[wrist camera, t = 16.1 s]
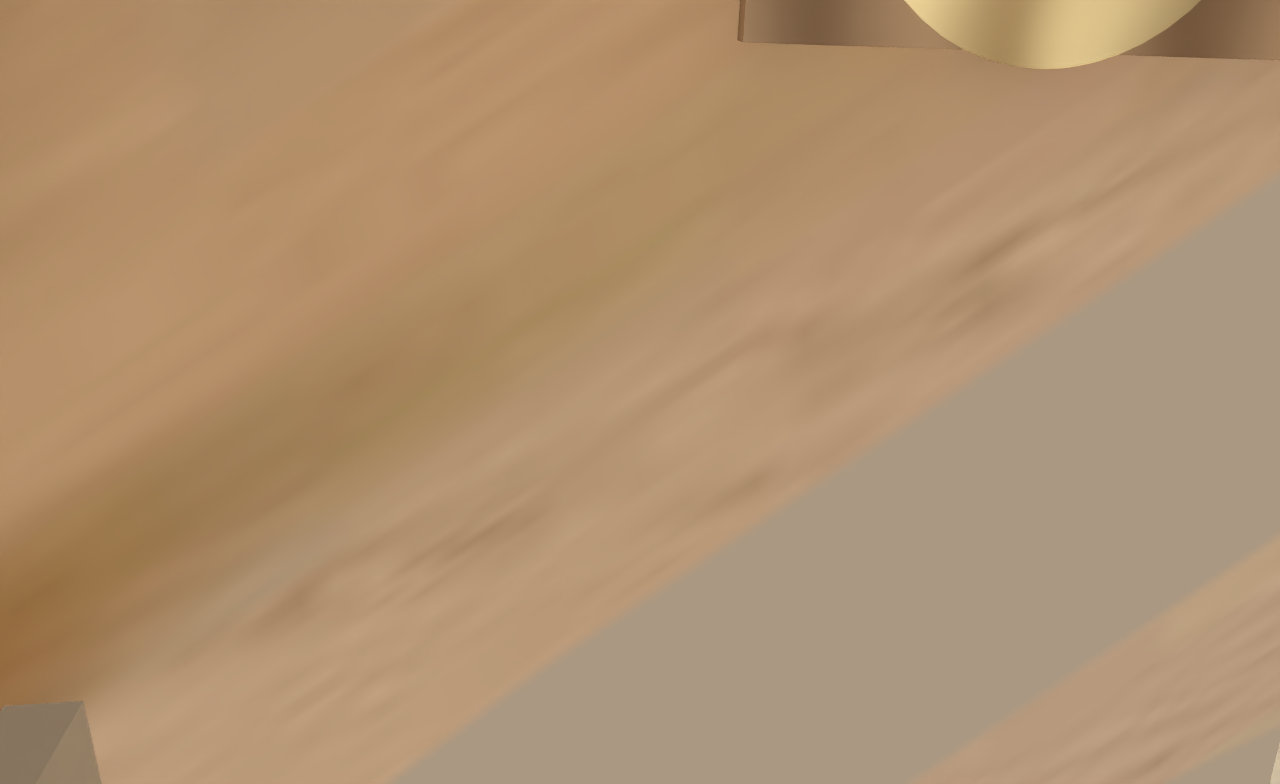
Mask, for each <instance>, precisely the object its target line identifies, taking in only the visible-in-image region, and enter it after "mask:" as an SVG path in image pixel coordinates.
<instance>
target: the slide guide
mask: <svg viewBox="0 0 1280 784" xmlns="http://www.w3.org/2000/svg"><path fill="white" fill-rule="evenodd" d="M738 40H739V41H741V42H748V43H778V44H807V45H837V46H867V47H897V48H927V49H957V50H965V51H968V52H970V53H973V54H975V55H977V56H980V57H982V58H984V59H987V60H990V61H994V62H998V63H1002V64H1006V65H1010V66H1015V67H1025V68H1034V69H1053V68H1068V67H1074V66H1080V65H1085V64H1091V63H1094V62H1098V61H1101V60H1104V59H1107V58H1110V57H1113V56H1117V55H1136V56H1166V57H1196V58H1225V59H1255V60H1280V0H740V12H739V27H738Z"/></svg>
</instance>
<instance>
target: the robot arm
mask: <svg viewBox="0 0 1280 784" xmlns="http://www.w3.org/2000/svg"><path fill="white" fill-rule="evenodd" d="M0 784H102V783H101V779H100V774H99V770H98V765H97V761H96V756H95V751H94V747H93V742H92V738H91V733H90V729H89V724H88V720H87V715H86V711H85V706H84V702H83V701H75V702H60V703H44V704H28V705H13V706H4V707H3V708H2V710H1V711H0ZM1270 784H1280V744H1279V748H1278V752H1277V756H1276V760H1275V765H1274V768H1273V772H1272V777H1271V781H1270Z"/></svg>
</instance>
